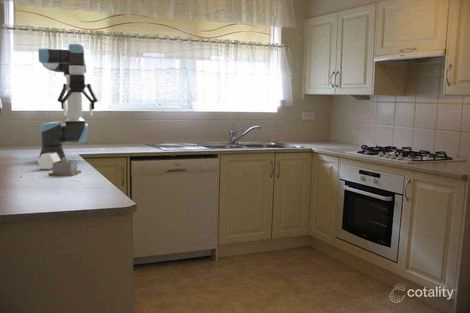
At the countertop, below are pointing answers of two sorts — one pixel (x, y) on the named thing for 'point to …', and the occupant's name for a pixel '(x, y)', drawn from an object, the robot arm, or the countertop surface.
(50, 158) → the jar
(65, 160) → the keeper
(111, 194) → the countertop surface
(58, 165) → the grey hollow block
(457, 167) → the countertop surface
